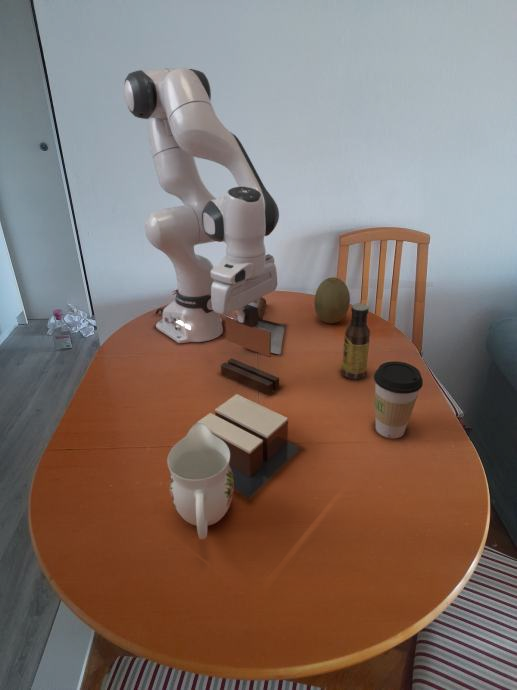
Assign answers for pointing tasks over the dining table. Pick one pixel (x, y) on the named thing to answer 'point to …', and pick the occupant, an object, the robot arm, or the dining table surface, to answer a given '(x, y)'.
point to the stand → (250, 376)
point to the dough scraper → (249, 332)
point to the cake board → (262, 472)
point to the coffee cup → (395, 396)
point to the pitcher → (200, 478)
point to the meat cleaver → (271, 329)
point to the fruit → (332, 300)
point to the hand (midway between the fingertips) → (247, 318)
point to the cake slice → (237, 444)
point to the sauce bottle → (356, 343)
